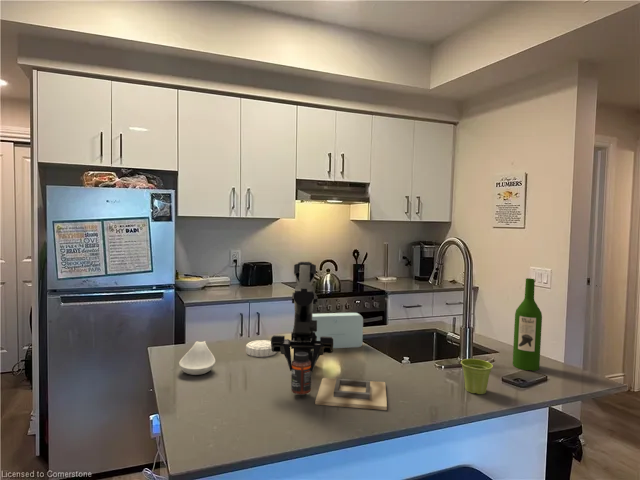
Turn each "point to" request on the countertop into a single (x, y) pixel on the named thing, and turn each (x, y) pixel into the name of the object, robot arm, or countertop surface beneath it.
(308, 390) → the supplement bottle
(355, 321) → the pale blue rectangular block
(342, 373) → the countertop surface
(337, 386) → the board
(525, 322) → the wine bottle
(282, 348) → the robot arm
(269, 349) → the mooncake
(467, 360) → the plant pot
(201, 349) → the spoon rest
